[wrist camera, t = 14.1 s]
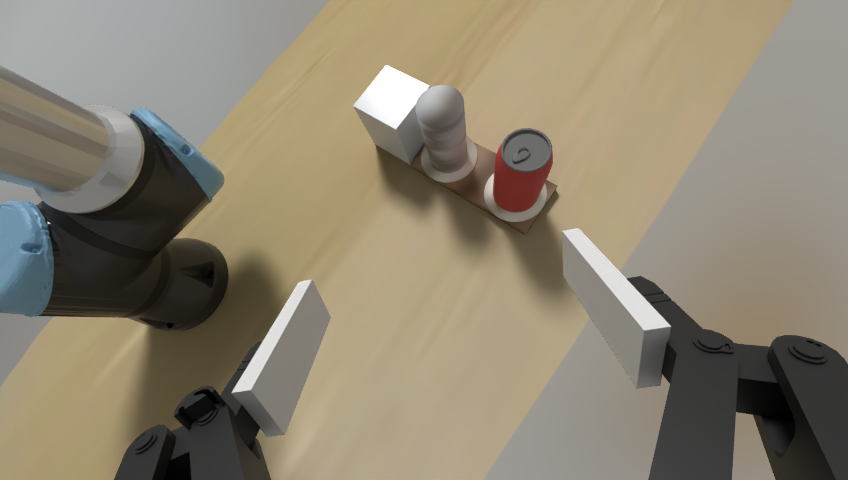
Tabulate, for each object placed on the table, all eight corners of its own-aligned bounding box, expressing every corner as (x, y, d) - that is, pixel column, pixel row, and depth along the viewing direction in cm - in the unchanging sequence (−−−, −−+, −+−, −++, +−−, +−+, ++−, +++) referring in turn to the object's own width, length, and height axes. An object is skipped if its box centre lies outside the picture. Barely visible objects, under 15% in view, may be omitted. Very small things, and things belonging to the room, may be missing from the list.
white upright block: (375, 144, 55) (353, 105, 45) (402, 109, 56) (386, 64, 46) (411, 165, 52) (395, 129, 43) (438, 129, 53) (429, 85, 44)
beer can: (483, 192, 47) (483, 149, 36) (515, 164, 48) (526, 113, 36) (514, 223, 45) (526, 187, 34) (548, 193, 46) (570, 148, 34)
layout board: (411, 169, 52) (389, 117, 39) (442, 128, 53) (431, 65, 40) (524, 235, 46) (541, 200, 33) (556, 187, 47) (585, 135, 34)
